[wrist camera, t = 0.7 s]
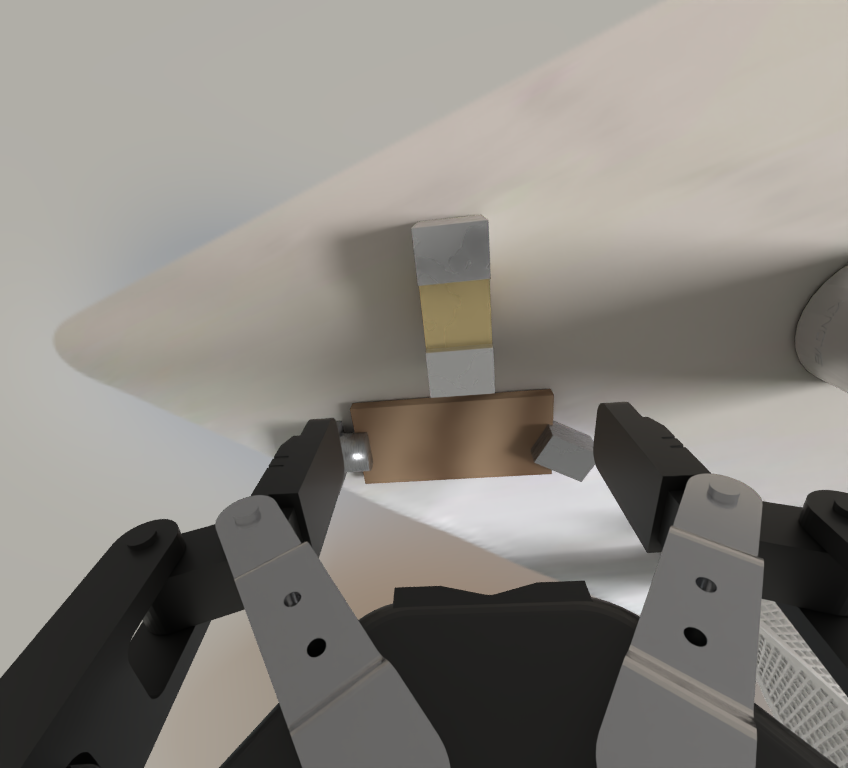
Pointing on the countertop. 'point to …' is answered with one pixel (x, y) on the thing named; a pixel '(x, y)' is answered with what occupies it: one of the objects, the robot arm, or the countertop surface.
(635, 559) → the countertop surface
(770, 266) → the countertop surface
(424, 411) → the coupling stand
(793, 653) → the skyscraper
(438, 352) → the gray and yellow block
